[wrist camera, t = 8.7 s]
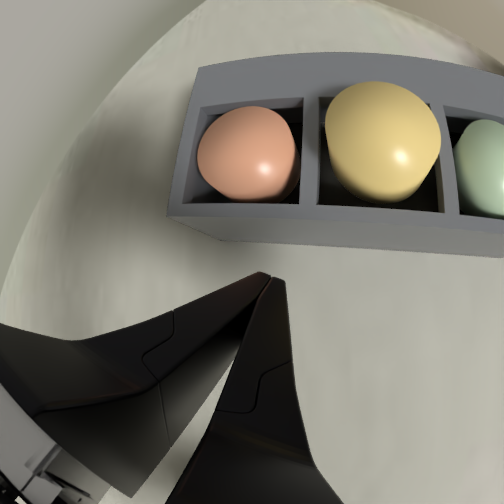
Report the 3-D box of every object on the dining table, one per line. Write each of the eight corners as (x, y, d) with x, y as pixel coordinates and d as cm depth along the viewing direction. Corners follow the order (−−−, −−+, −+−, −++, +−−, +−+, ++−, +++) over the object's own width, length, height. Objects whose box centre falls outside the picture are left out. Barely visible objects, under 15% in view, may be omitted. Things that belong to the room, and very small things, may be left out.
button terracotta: (298, 210, 16) (288, 193, 13) (213, 209, 18) (190, 193, 15) (302, 130, 17) (293, 103, 14) (224, 135, 19) (205, 111, 16)
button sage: (516, 227, 12) (541, 215, 9) (448, 219, 14) (468, 204, 11) (504, 150, 13) (523, 128, 10) (440, 138, 14) (453, 112, 11)
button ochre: (429, 207, 12) (448, 187, 10) (328, 201, 14) (324, 178, 11) (419, 119, 13) (429, 86, 10) (329, 113, 15) (324, 80, 12)
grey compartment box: (501, 257, 16) (557, 240, 9) (220, 240, 23) (166, 216, 16) (485, 132, 17) (518, 81, 10) (236, 120, 24) (198, 67, 17)
